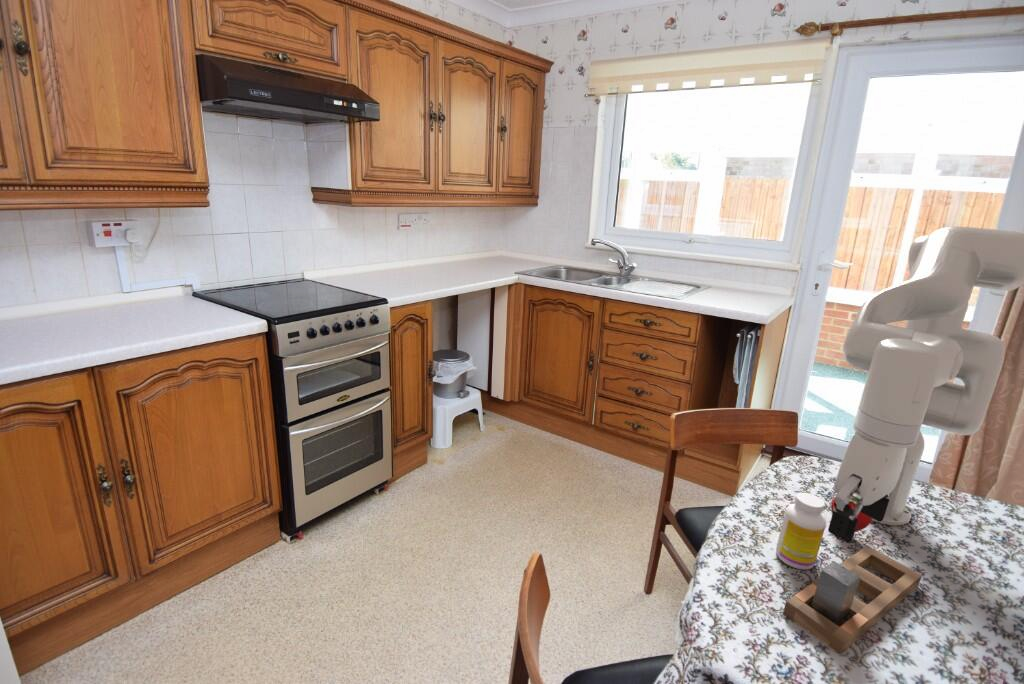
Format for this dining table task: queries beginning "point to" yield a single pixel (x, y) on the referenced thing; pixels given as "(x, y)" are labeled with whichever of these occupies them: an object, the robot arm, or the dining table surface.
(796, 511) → the supplement bottle
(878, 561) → the rack
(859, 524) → the strawberry
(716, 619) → the dining table surface
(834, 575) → the peg
